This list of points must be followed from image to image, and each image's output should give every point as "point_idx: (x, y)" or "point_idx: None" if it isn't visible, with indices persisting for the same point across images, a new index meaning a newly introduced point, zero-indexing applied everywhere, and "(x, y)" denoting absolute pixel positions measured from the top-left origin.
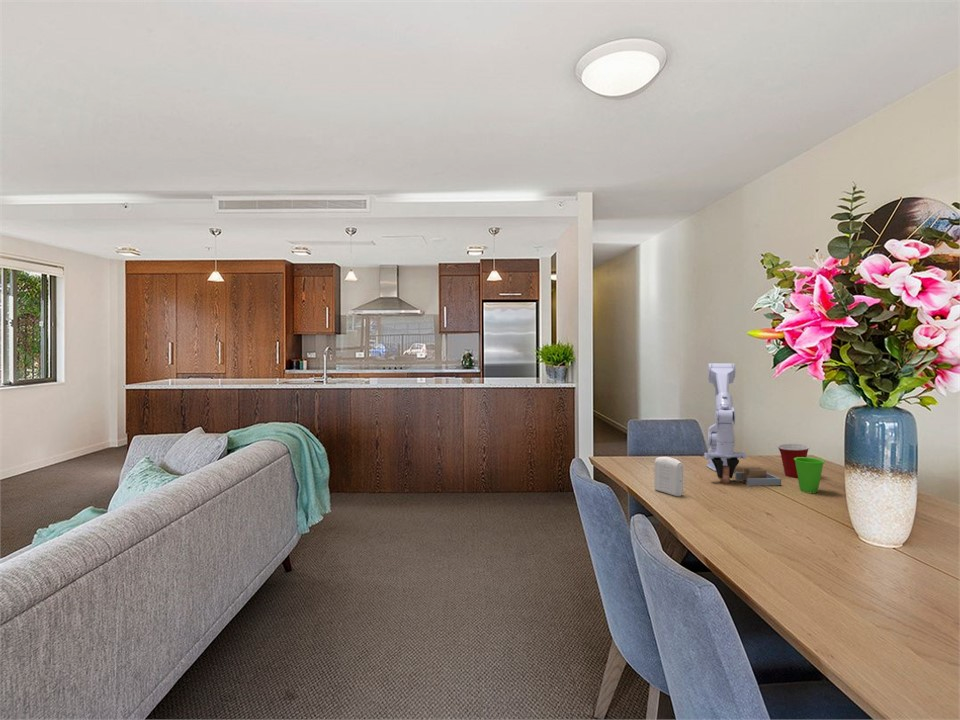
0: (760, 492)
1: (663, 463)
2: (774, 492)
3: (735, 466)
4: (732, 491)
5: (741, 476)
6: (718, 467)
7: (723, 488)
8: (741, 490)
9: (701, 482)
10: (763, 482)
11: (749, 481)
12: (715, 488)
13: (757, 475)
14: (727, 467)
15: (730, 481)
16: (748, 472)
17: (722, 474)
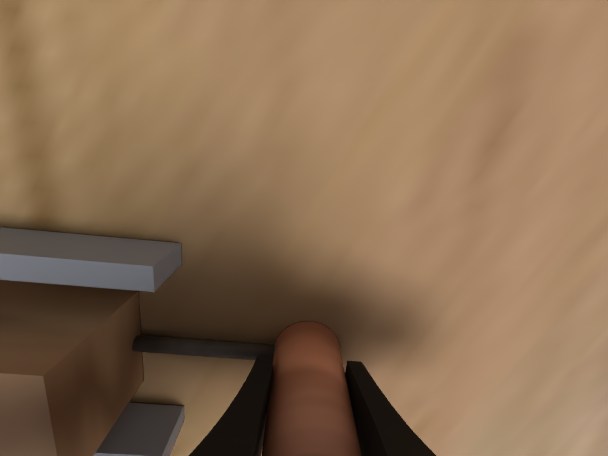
0: (175, 25)
1: None
2: (36, 5)
3: (205, 451)
4: (413, 94)
5: (131, 423)
6: (433, 453)
7: (426, 195)
8: (314, 116)
9: (476, 361)
10: (22, 241)
11: (151, 254)
12: (490, 202)
13: (7, 328)
14: (311, 449)
15: (268, 346)
16: (74, 380)
17: (345, 390)
